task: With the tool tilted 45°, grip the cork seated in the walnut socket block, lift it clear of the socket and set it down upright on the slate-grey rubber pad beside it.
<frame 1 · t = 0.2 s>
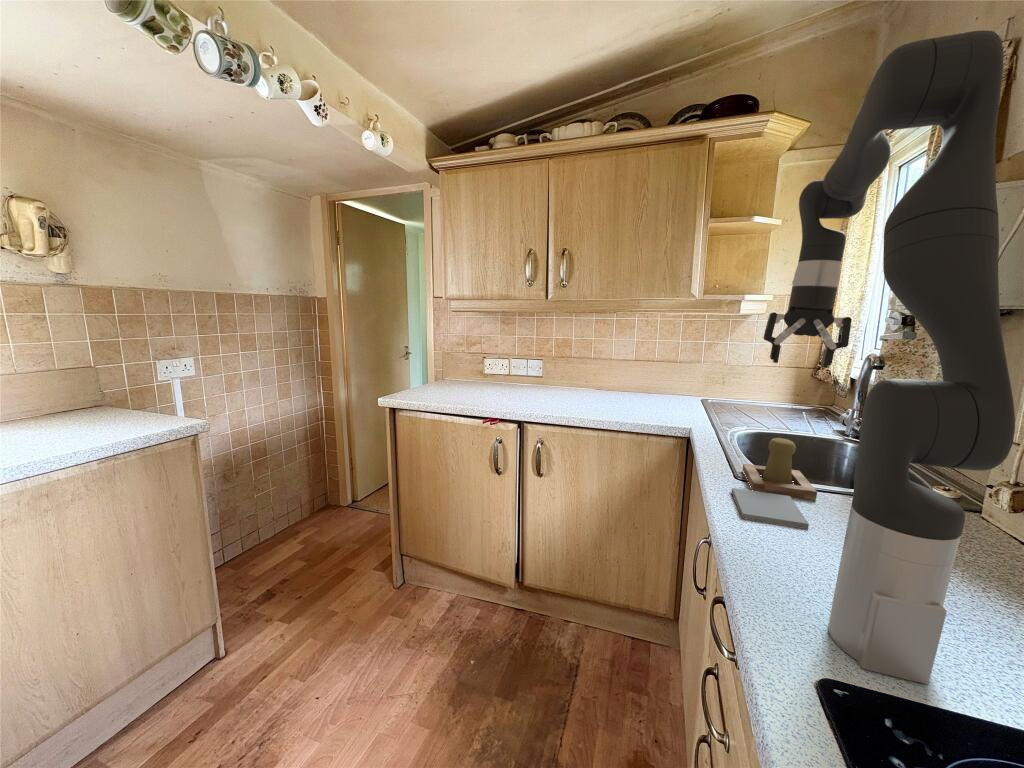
hand: (799, 365, 86), 29 cm above the countertop, tool pointing down, fingers open, 8 cm apart
cork: (776, 485, 96), resting in walnut socket
walnut socket: (776, 484, 96), on the countertop
slate pad: (766, 508, 84), on the countertop
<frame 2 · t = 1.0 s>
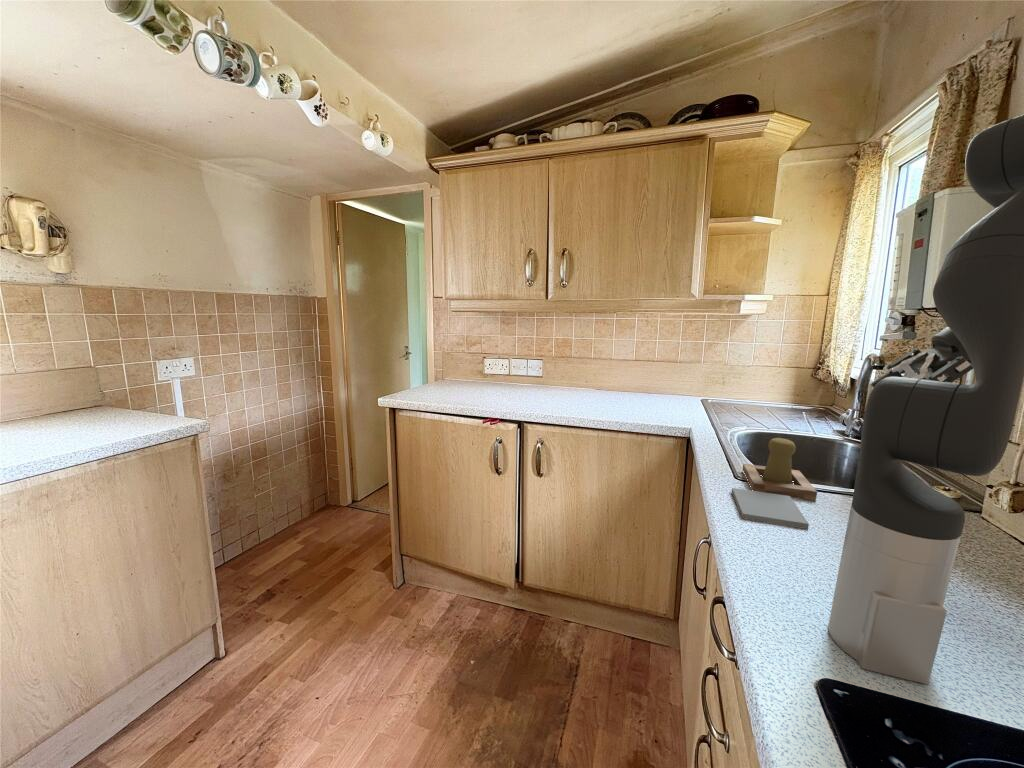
hand: (885, 393, 79), 25 cm above the countertop, tool tilted 45°, fingers open, 8 cm apart
nothing on the countertop moved.
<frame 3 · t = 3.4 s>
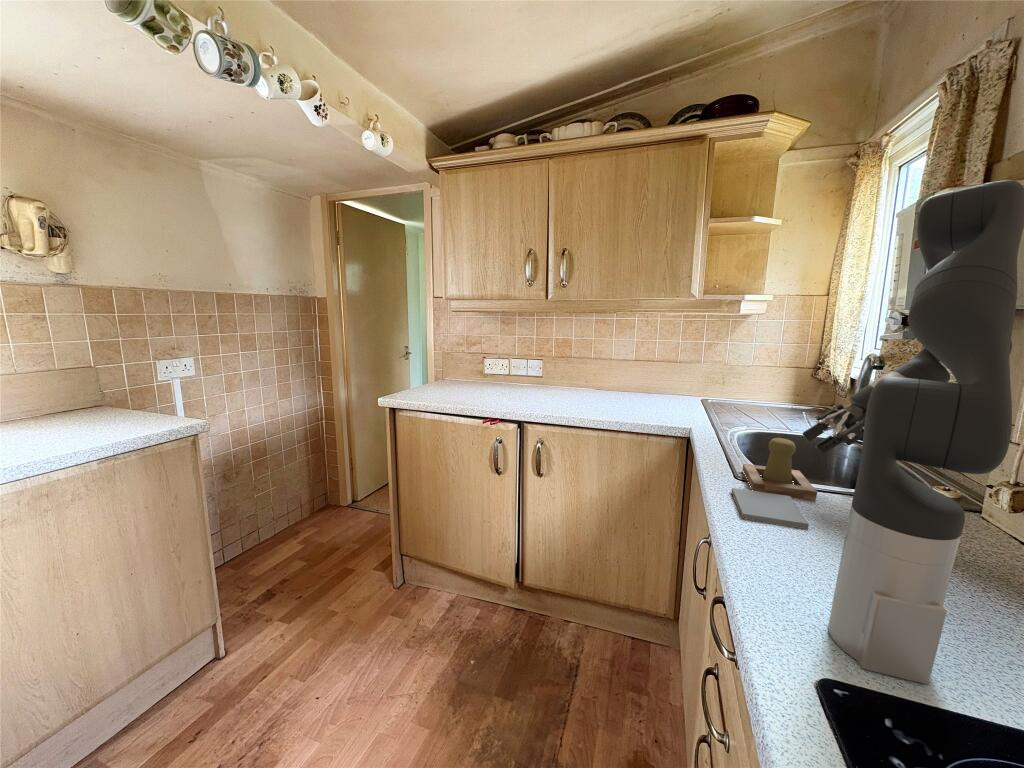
hand: (811, 443, 92), 11 cm above the countertop, tool tilted 45°, fingers open, 8 cm apart
nothing on the countertop moved.
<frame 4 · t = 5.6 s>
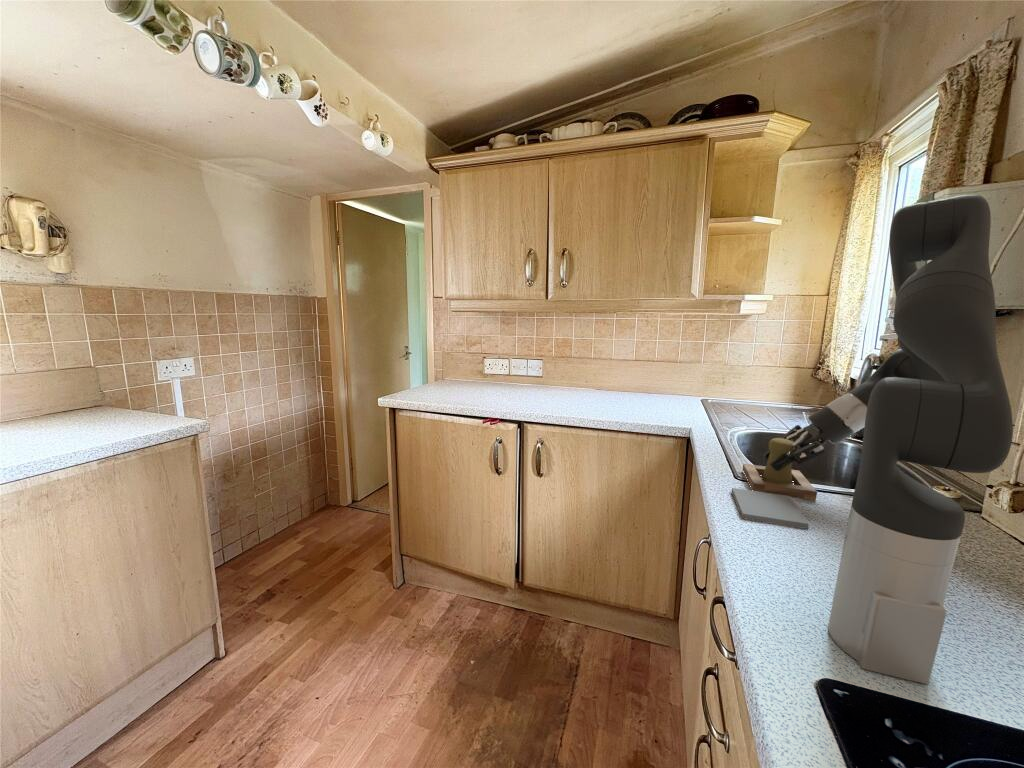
hand: (770, 462, 95), 5 cm above the countertop, tool tilted 45°, fingers closed on cork, 5 cm apart
cork: (776, 485, 96), resting in walnut socket, touching gripper
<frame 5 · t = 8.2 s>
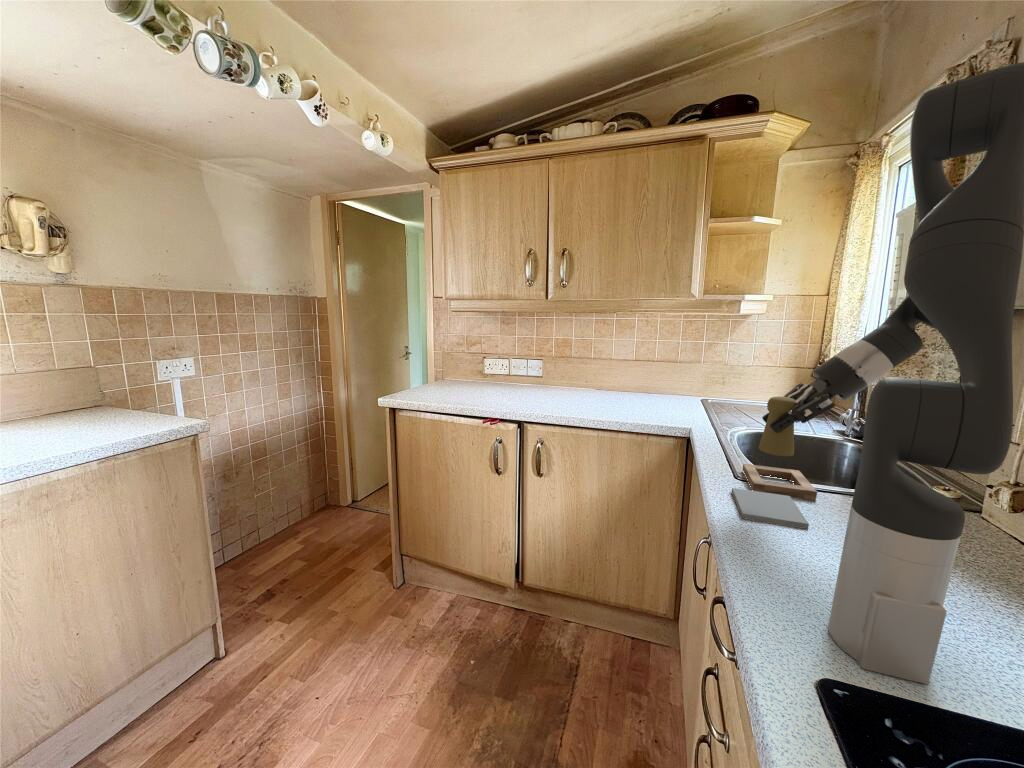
hand: (769, 425, 82), 17 cm above the countertop, tool tilted 45°, fingers closed on cork, 5 cm apart
cork: (775, 451, 83), point 12 cm above the countertop, touching gripper
when the fingers open (7 cm above the countertop, at t = 10.8 s): cork drops 1 cm, resting on slate pad.
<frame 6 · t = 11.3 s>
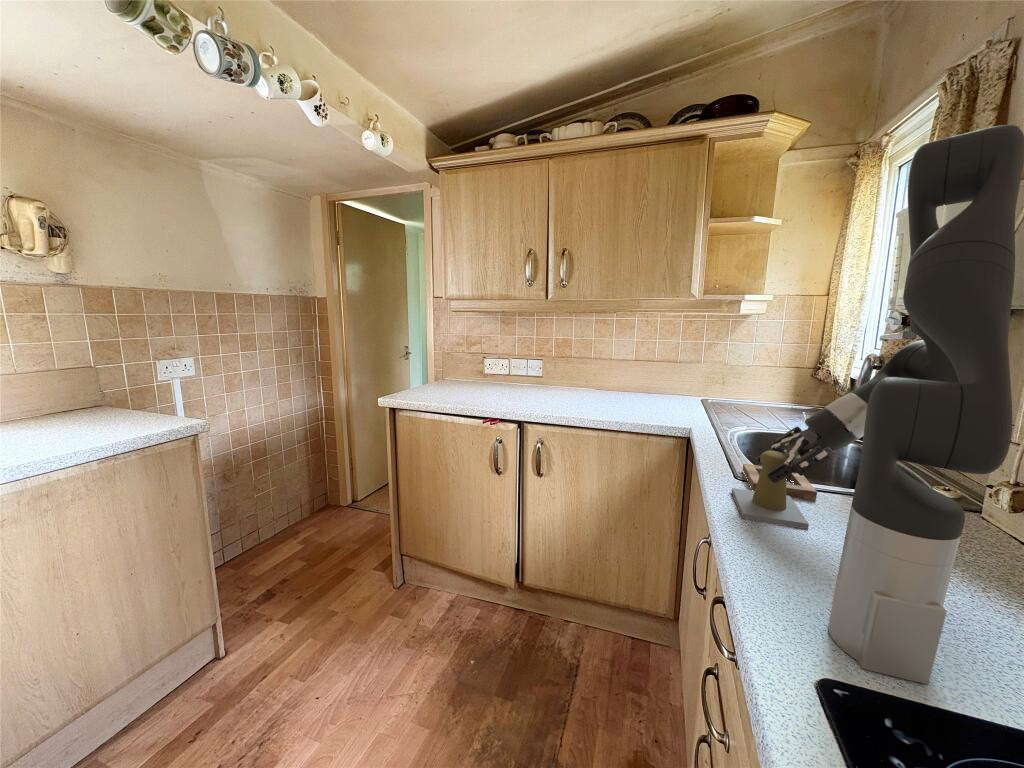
hand: (764, 470, 83), 8 cm above the countertop, tool tilted 45°, fingers open, 8 cm apart
cork: (768, 504, 85), point 1 cm above the countertop, touching slate pad
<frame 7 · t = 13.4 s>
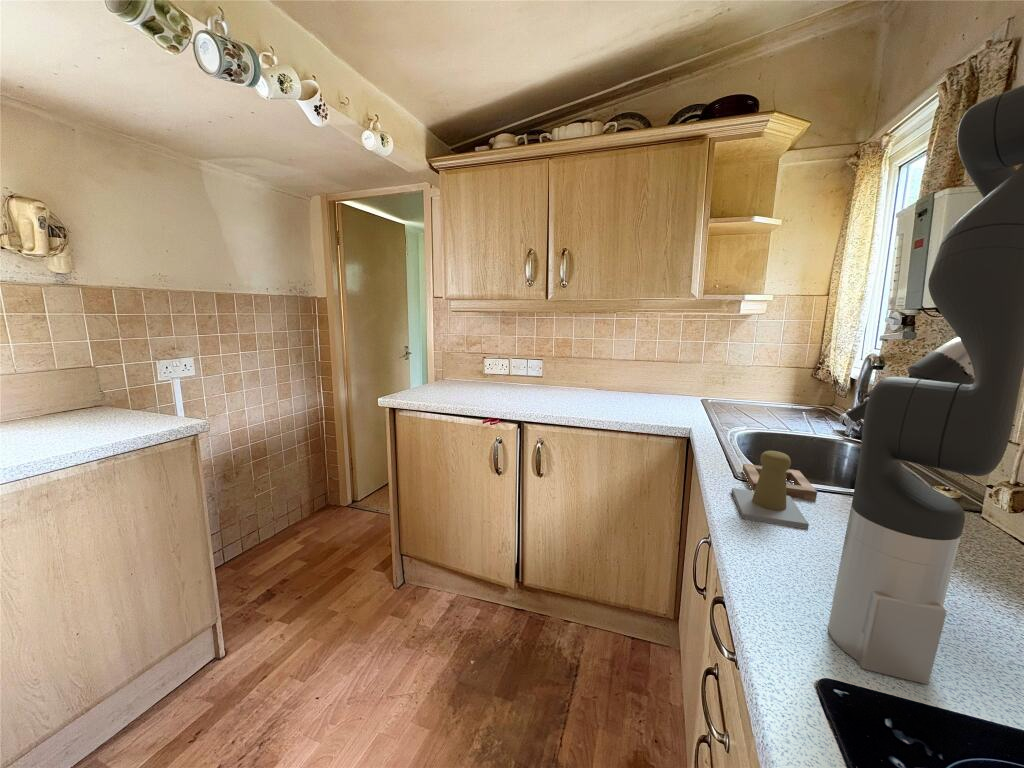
hand: (860, 424, 75), 20 cm above the countertop, tool tilted 45°, fingers open, 8 cm apart
nothing on the countertop moved.
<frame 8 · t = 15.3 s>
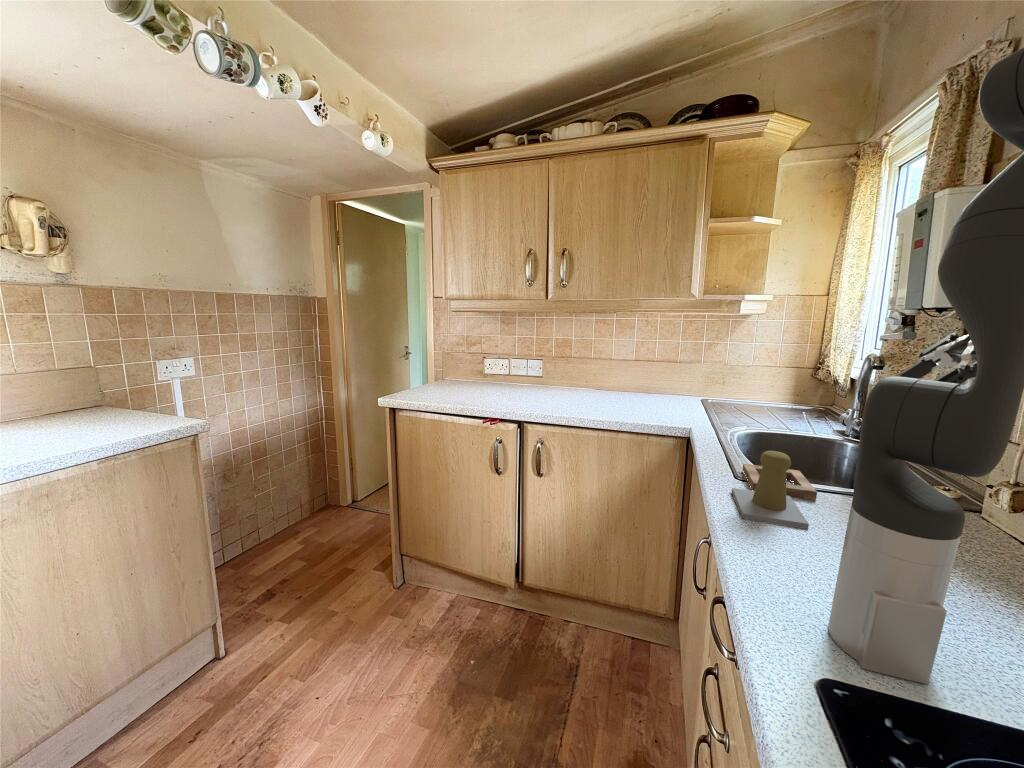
hand: (918, 384, 67), 29 cm above the countertop, tool tilted 45°, fingers open, 8 cm apart
nothing on the countertop moved.
at the end: cork inside the target area on the slate pad (0.6 cm from its centre), point 0.8 cm above the slate pad's base; cork tilted 0°; the gripper is holding nothing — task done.
